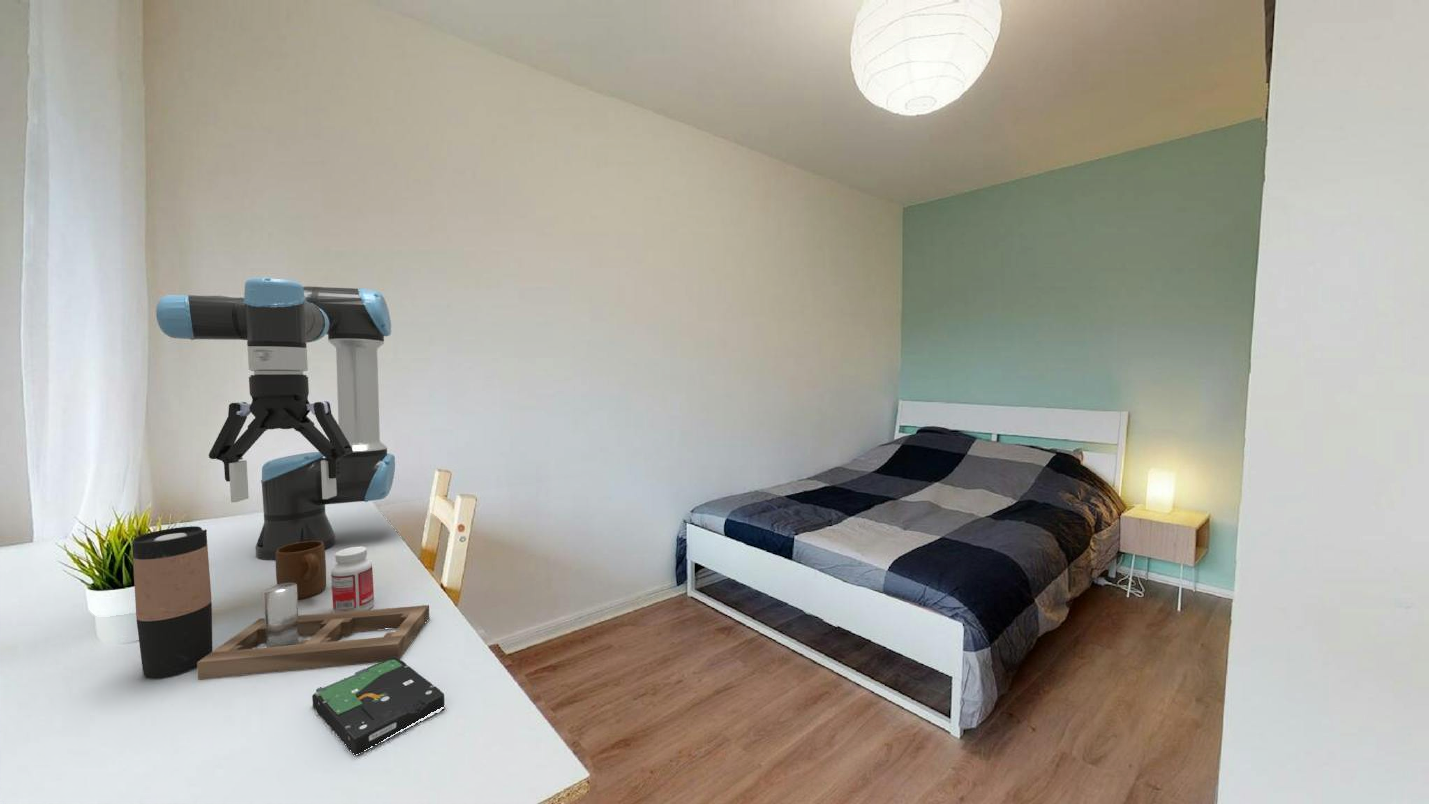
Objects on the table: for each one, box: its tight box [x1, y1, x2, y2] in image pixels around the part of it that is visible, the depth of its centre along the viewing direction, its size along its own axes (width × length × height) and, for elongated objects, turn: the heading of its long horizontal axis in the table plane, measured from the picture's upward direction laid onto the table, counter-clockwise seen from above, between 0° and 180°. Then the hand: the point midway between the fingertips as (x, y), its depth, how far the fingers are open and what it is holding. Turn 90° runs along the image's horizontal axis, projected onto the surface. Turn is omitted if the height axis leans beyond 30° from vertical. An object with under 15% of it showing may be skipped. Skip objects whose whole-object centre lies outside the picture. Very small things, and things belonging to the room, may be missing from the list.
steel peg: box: [262, 583, 301, 648], centre depth 79 cm, size 4×4×10 cm
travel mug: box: [131, 525, 213, 680], centre depth 75 cm, size 8×8×20 cm
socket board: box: [196, 604, 430, 680], centre depth 81 cm, size 13×26×2 cm, turn 101°
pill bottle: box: [330, 546, 375, 613], centre depth 93 cm, size 6×6×11 cm
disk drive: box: [311, 656, 446, 755], centre depth 66 cm, size 10×3×15 cm
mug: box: [274, 541, 327, 600], centre depth 99 cm, size 12×8×9 cm, turn 54°
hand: (285, 499), depth 86 cm, fingers open, 13 cm apart
